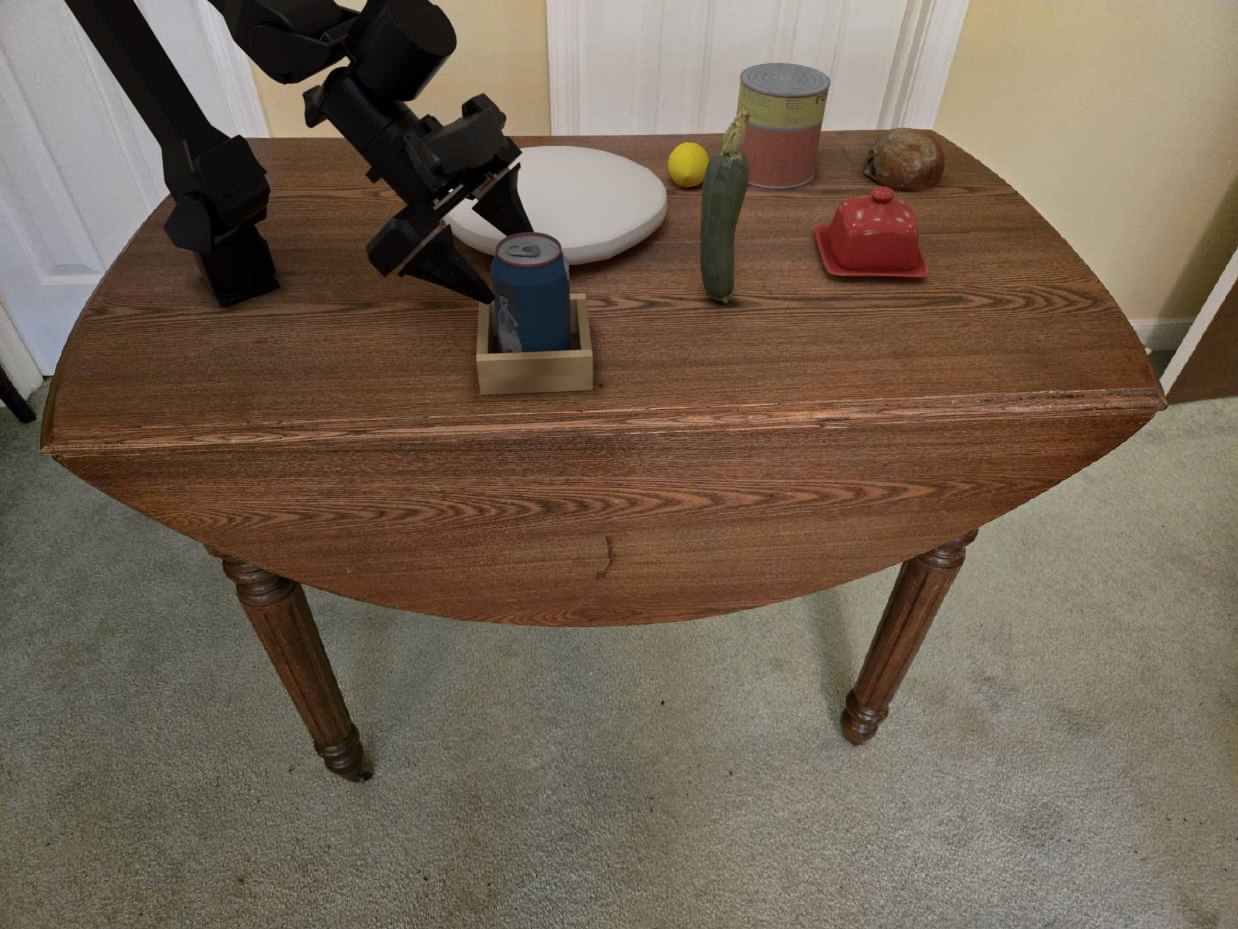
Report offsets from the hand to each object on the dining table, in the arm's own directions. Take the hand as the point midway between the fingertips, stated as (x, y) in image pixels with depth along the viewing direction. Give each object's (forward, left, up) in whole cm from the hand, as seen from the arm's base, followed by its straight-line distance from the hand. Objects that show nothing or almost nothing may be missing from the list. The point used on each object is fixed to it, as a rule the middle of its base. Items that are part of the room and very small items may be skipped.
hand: (515, 275), depth 74 cm
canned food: (+51, +14, -9) cm, 53 cm away
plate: (+19, +20, -9) cm, 29 cm away
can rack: (+1, -1, -9) cm, 9 cm away
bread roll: (+64, +2, -9) cm, 64 cm away
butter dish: (+42, -9, -9) cm, 44 cm away
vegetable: (+22, -4, -9) cm, 24 cm away
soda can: (+1, -1, -9) cm, 9 cm away
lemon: (+39, +18, -9) cm, 43 cm away
